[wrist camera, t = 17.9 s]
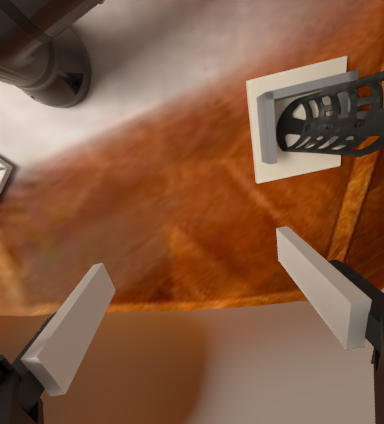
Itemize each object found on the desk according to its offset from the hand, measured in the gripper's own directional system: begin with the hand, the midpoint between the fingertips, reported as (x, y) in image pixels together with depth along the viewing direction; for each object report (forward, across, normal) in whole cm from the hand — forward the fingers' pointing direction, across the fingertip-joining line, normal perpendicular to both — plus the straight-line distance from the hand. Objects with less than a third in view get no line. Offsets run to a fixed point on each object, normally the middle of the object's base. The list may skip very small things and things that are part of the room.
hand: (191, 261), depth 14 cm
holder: (+34, +26, +6) cm, 43 cm away
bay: (+35, +26, +6) cm, 44 cm away
